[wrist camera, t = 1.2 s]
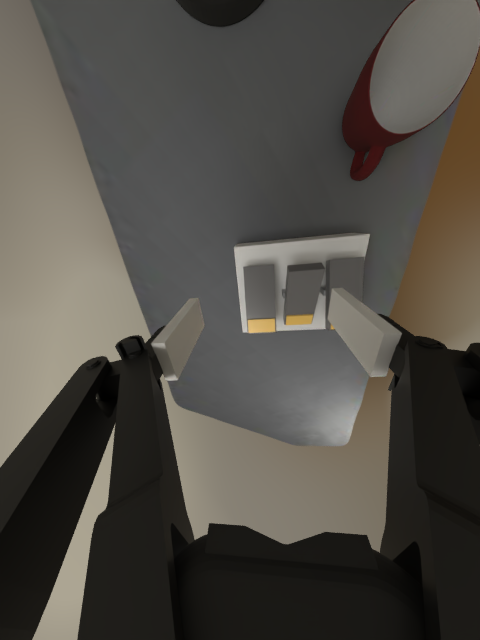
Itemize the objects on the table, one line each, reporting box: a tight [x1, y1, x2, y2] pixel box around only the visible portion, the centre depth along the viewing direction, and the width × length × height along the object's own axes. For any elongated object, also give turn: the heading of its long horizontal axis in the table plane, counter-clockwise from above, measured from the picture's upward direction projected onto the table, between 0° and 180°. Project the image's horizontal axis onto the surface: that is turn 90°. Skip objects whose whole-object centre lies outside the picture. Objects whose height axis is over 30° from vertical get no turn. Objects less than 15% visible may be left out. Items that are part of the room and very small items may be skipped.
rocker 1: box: [243, 264, 277, 334], centre depth 27 cm, size 10×4×2 cm, turn 5°
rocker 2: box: [283, 263, 325, 325], centre depth 27 cm, size 10×4×2 cm, turn 5°
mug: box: [342, 0, 480, 181], centre depth 20 cm, size 10×8×10 cm
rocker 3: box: [325, 257, 364, 330], centre depth 26 cm, size 10×4×2 cm, turn 5°
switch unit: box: [234, 233, 370, 332], centre depth 31 cm, size 15×19×7 cm
